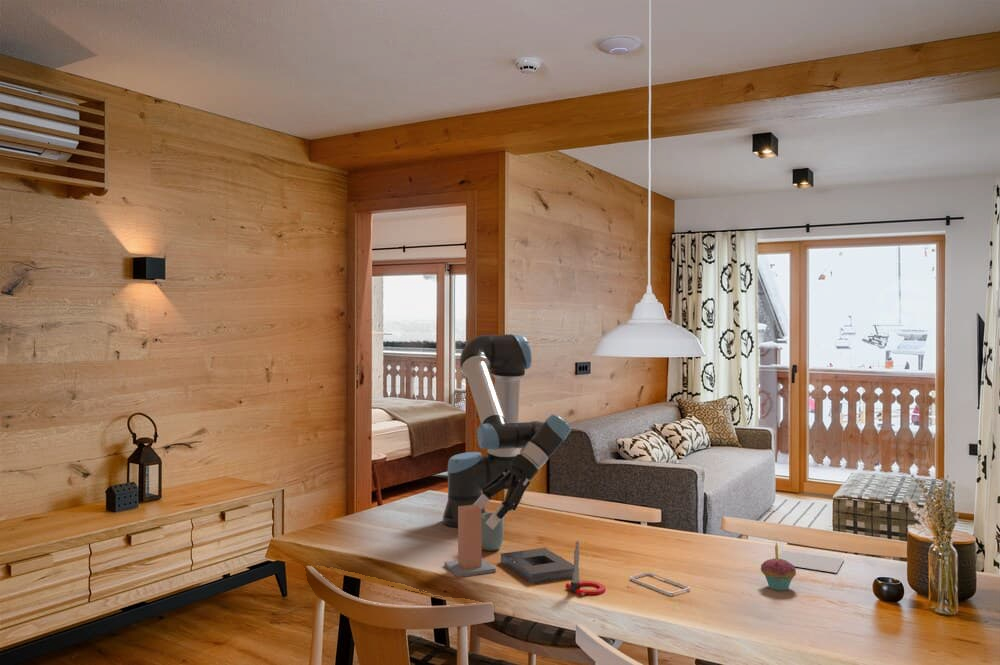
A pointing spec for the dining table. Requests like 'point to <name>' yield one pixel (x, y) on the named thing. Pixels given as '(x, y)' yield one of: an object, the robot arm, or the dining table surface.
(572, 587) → the tow hook
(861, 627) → the dining table surface
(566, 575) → the socket block
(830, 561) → the paper stack
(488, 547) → the cup
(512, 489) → the robot arm
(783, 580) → the cupcake
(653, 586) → the phone case
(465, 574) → the pad
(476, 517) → the peg
